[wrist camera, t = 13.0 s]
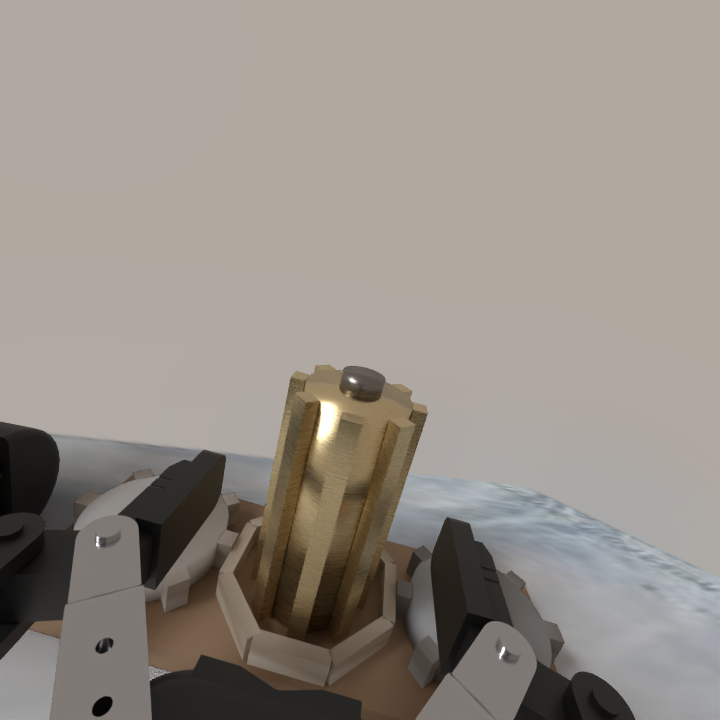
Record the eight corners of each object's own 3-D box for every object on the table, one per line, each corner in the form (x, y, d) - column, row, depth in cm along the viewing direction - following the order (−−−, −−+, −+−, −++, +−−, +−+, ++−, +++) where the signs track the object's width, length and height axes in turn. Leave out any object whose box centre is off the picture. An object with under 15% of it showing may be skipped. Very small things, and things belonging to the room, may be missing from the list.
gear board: (-12, 616, 15) (-17, 547, 14) (136, 486, 24) (140, 436, 23) (583, 795, 14) (625, 736, 13) (515, 593, 23) (537, 547, 22)
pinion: (228, 626, 16) (274, 379, 13) (272, 530, 22) (312, 340, 18) (357, 664, 16) (440, 423, 12) (368, 557, 21) (427, 371, 18)
